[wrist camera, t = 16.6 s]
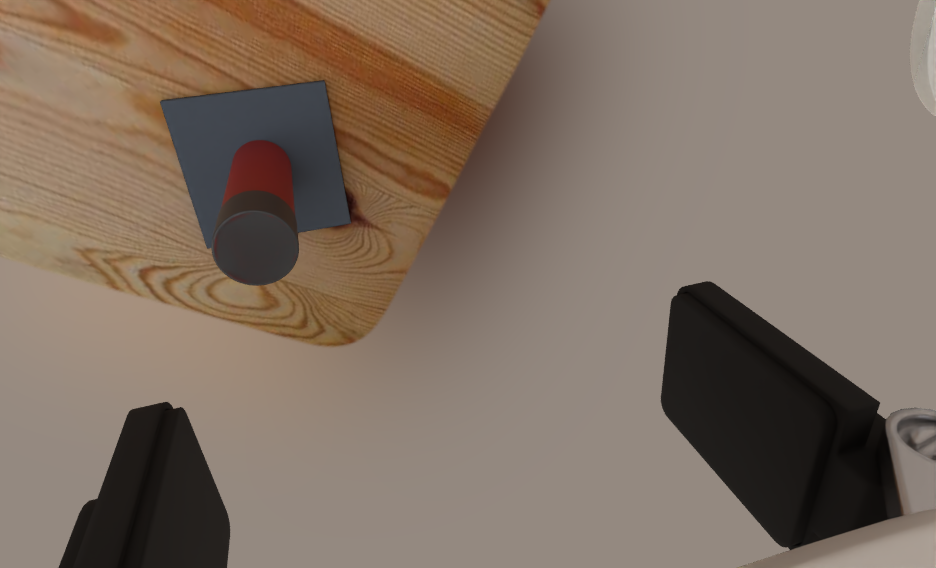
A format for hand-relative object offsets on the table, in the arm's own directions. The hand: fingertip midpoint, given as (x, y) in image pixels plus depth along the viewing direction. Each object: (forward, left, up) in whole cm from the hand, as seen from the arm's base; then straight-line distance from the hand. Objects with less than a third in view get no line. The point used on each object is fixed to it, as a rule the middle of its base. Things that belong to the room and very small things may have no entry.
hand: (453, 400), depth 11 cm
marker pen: (+4, +2, -24) cm, 24 cm away
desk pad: (+4, +2, -24) cm, 25 cm away
